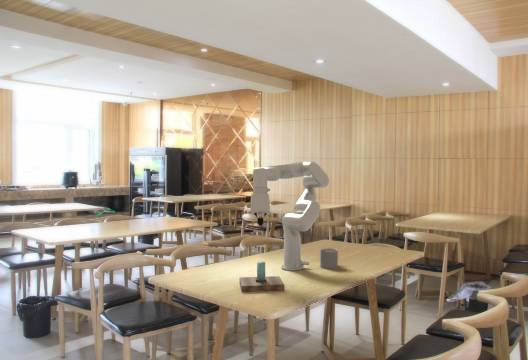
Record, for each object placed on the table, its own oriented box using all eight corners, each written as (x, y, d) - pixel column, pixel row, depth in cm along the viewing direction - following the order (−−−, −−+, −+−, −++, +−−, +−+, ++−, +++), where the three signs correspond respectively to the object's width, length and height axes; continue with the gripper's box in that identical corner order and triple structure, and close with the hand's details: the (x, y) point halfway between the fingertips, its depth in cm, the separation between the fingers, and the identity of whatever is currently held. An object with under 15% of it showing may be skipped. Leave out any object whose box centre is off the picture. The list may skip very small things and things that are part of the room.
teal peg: (265, 285, 218) (264, 261, 218) (265, 288, 214) (265, 263, 214) (256, 286, 218) (256, 261, 218) (257, 288, 214) (257, 263, 213)
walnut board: (279, 282, 225) (279, 276, 225) (284, 290, 209) (284, 284, 209) (239, 283, 223) (239, 277, 223) (241, 292, 207) (241, 285, 207)
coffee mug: (330, 269, 252) (330, 252, 251) (316, 266, 259) (316, 249, 259) (344, 266, 261) (344, 249, 261) (331, 263, 268) (331, 246, 268)
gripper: (273, 190, 241) (273, 224, 242) (245, 190, 240) (245, 224, 240) (275, 191, 234) (275, 226, 234) (246, 191, 232) (246, 226, 233)
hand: (260, 225), depth 237 cm, fingers closed
